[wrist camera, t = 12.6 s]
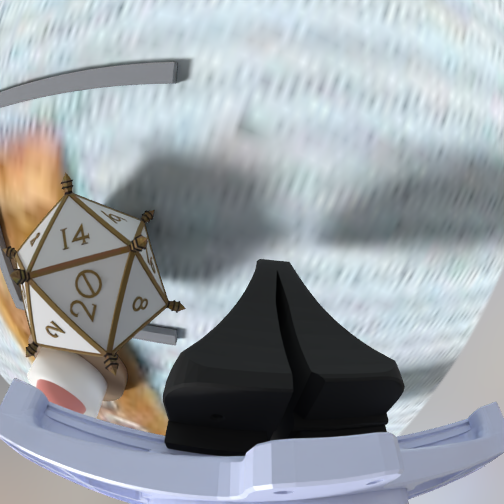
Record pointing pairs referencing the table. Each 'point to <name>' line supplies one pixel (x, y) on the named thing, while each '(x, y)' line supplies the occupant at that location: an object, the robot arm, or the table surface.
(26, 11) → the table surface
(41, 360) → the dome
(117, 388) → the dome base
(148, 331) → the frame
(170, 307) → the game die
